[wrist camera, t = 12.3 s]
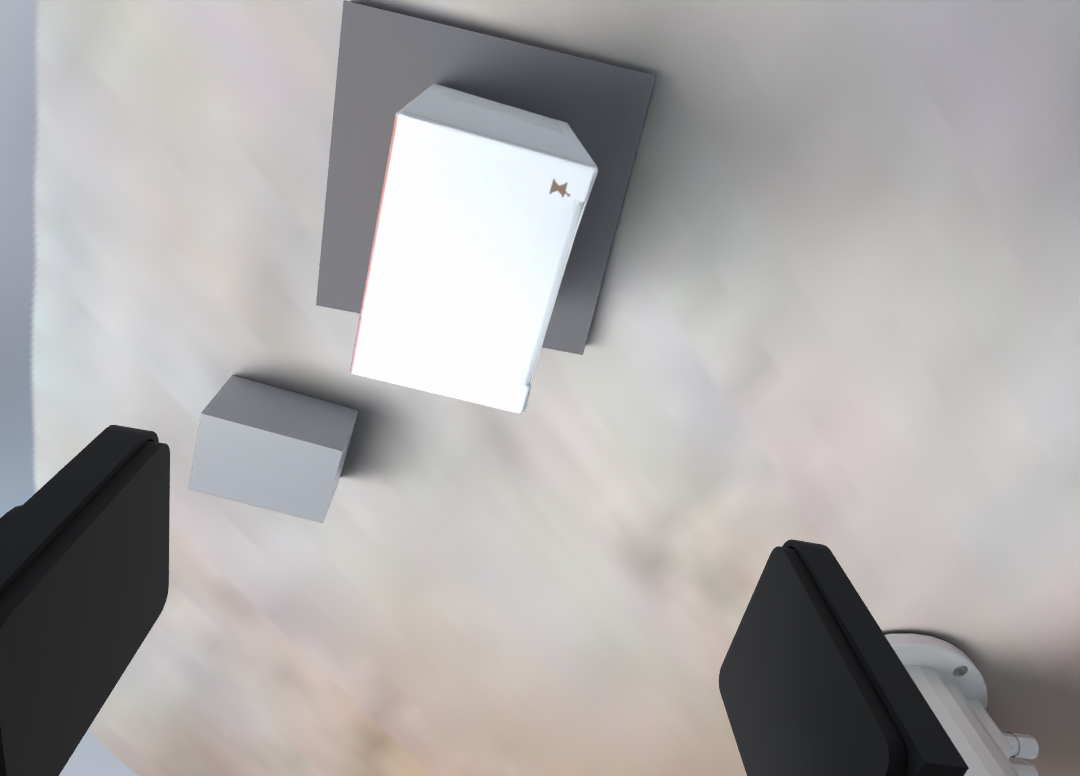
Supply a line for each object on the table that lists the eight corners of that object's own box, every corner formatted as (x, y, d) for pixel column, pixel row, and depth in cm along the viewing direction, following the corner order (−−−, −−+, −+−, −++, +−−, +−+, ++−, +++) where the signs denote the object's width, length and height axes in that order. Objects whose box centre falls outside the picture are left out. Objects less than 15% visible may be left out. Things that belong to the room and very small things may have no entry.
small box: (432, 80, 28) (394, 100, 18) (571, 122, 29) (603, 161, 19) (393, 275, 31) (342, 378, 21) (518, 307, 32) (523, 419, 22)
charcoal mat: (651, 74, 29) (656, 75, 28) (580, 346, 34) (582, 354, 33) (349, 1, 27) (344, 0, 26) (321, 297, 32) (316, 305, 31)
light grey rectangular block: (359, 409, 35) (342, 451, 31) (340, 475, 37) (322, 523, 33) (233, 373, 34) (200, 413, 30) (219, 443, 35) (187, 489, 32)
